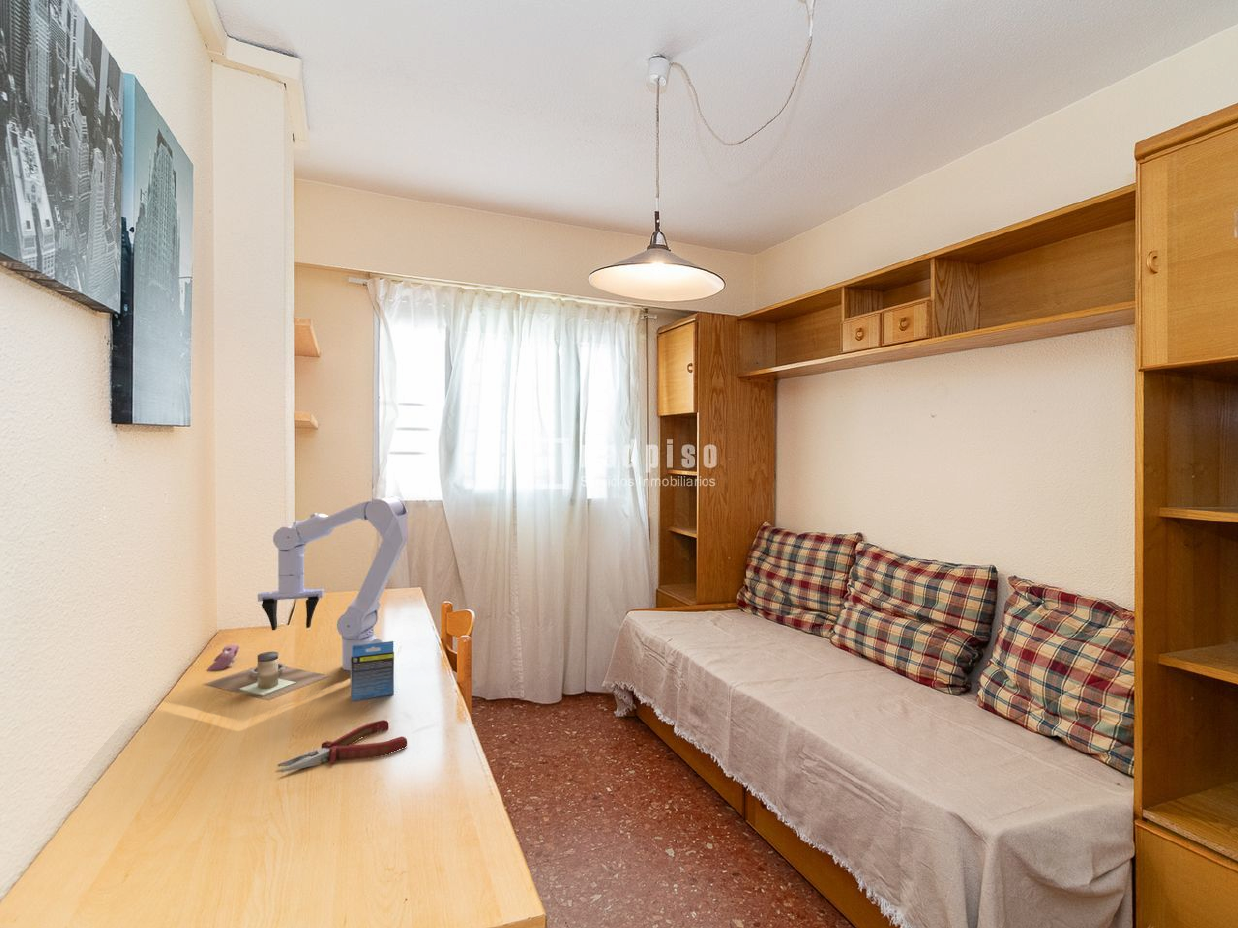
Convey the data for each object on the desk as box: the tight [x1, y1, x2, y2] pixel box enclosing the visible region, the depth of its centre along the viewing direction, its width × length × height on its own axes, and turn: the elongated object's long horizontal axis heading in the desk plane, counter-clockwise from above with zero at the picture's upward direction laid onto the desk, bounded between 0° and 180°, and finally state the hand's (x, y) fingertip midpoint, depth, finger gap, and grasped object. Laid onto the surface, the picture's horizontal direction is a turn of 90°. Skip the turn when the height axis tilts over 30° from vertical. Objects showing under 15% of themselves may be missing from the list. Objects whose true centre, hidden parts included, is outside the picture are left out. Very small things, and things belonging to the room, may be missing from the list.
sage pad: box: [239, 678, 296, 696], centre depth 137 cm, size 8×8×1 cm
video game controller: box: [206, 643, 240, 672], centre depth 153 cm, size 10×5×7 cm, turn 23°
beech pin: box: [257, 651, 279, 689], centre depth 137 cm, size 4×4×7 cm
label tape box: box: [350, 640, 395, 702], centre depth 137 cm, size 9×4×12 cm, turn 115°
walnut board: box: [202, 665, 332, 701], centre depth 142 cm, size 22×16×2 cm
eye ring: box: [251, 662, 286, 679], centre depth 146 cm, size 7×7×1 cm
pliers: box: [277, 719, 408, 773], centre depth 110 cm, size 12×20×3 cm, turn 131°
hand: (291, 627), depth 153 cm, fingers open, 7 cm apart
